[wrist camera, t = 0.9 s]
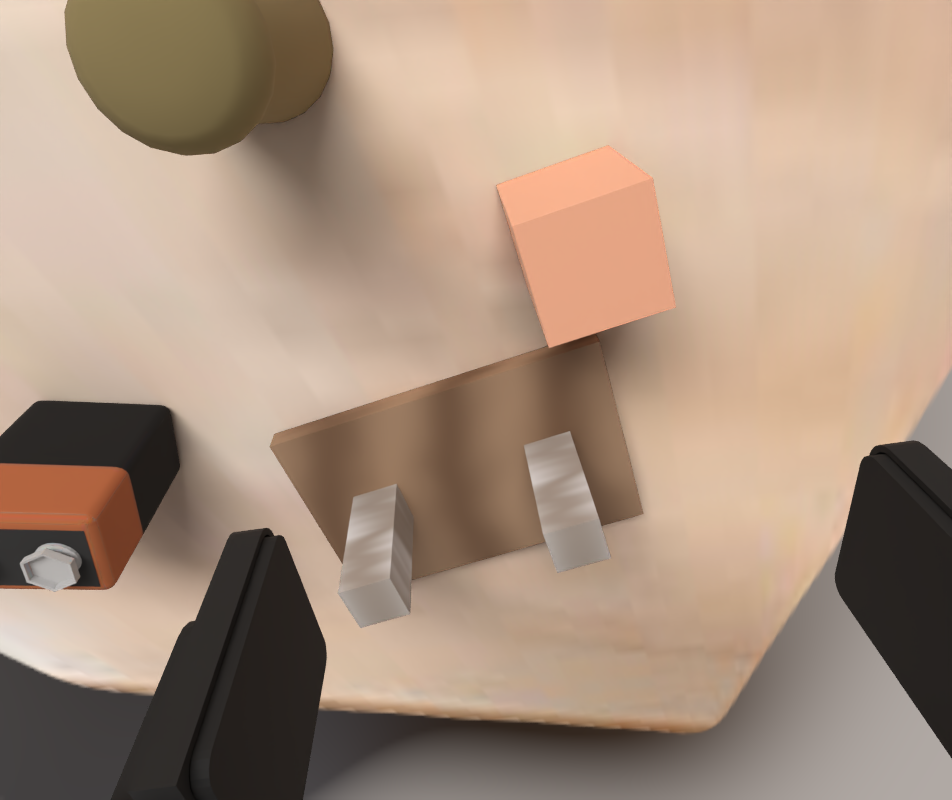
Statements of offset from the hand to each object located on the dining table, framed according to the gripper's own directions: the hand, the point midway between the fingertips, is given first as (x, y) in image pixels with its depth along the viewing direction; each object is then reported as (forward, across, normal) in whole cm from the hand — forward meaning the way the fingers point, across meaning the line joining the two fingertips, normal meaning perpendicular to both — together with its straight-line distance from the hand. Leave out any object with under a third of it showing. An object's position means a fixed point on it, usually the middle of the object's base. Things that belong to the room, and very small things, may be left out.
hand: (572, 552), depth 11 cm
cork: (+22, +8, -8) cm, 25 cm away
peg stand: (+22, +3, +15) cm, 26 cm away
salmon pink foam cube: (+22, -4, +1) cm, 22 cm away
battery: (+22, +21, +9) cm, 32 cm away
